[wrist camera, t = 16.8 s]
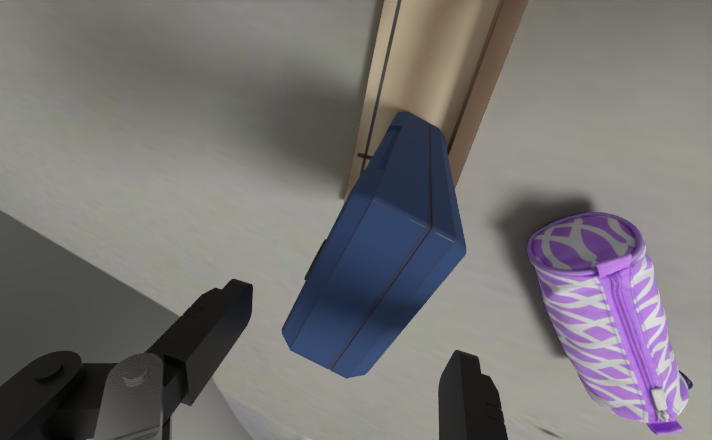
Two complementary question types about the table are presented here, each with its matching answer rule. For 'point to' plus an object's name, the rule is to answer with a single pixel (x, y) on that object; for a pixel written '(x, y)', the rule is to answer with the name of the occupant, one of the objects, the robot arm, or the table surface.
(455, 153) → the guide board
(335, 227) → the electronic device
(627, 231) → the pencil case
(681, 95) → the table surface
